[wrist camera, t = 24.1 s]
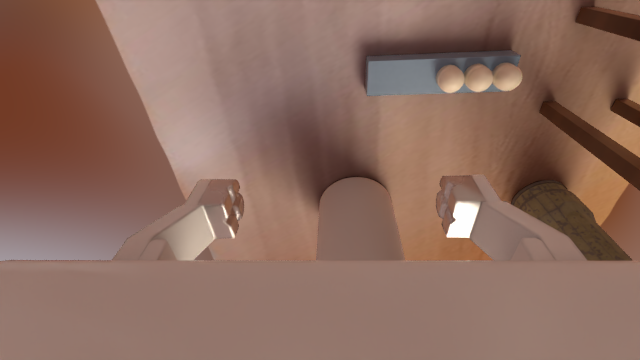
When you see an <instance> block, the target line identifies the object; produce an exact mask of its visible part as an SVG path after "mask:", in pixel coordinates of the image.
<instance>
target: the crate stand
mask: <svg viewBox="0 0 640 360" xmlns="http://www.w3.org/2000/svg"><path fill="white" fill-rule="evenodd" d="M576 23H579V24H583V25H586V26H590V27H593V28H596V29H600V30H603V31H607V32H610V33H614V34H617V35H620V36H624V37H627V38H631V39H634V40H638V41H640V16H638V15H634V14H629V13H624V12H619V11H614V10H610V9H605V8H600V7H581V9H580V12H579V14H578V17H577V19H576ZM611 111H613V112H614V113H616V114H618V115H620V116H621V117H623V118H625V119H627V120H628V121H630V122H632V123H634V124H635V125H637V126H639V127H640V105H639V104H637V103H635V102H633V101H631V100H629V99H616V101H615V102H614V104H613V106H612V108H611ZM539 113H541V114H542V115H543V116H545V117H546V118H547V119H548V120H550V121H551V122H552V123H554V124H555V125H556V126H557V127H559V128H560V129H561V130H563V131H564V132H565V133H566V134H568V135H569V136H570V137H571V138H573V139H574V140H575V141H577V142H578V143H579V144H580V145H582V146H583V147H584V148H586V149H587V150H588V151H589V152H591V153H592V154H593V155H595V156H596V157H597V158H598V159H600V160H601V161H602V162H604V163H605V164H606V165H607V166H609V167H610V168H611V169H613V170H614V171H615V172H616V173H618V174H619V175H620V176H622V177H623V178H624V179H625V180H627V181H628V182H629V183H631V184H632V185H633V186H634V187H636V188H637V189H638V190H640V158H639V157H638V156H636V155H635V154H633V153H632V152H630V151H629V150H627V149H626V148H624V147H623V146H621V145H620V144H618V143H617V142H615V141H614V140H612V139H611V138H609V137H608V136H606V135H605V134H603V133H602V132H600V131H599V130H597V129H596V128H594V127H593V126H591V125H590V124H588V123H587V122H586V121H584V120H583V119H581V118H580V117H578V116H577V115H575V114H574V113H572V112H571V111H569V110H568V109H566V108H565V107H563V106H562V105H560V104H559V103H557V102H556V101H552V102H543V105H542V107H541V110H540V112H539Z"/></svg>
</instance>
